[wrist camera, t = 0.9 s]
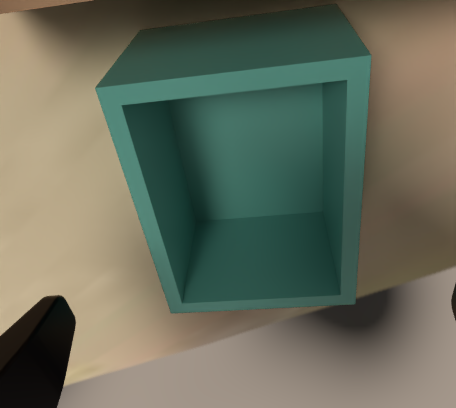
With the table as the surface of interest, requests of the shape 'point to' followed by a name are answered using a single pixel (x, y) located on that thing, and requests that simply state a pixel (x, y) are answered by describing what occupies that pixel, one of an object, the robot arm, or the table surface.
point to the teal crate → (246, 156)
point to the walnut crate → (31, 4)
